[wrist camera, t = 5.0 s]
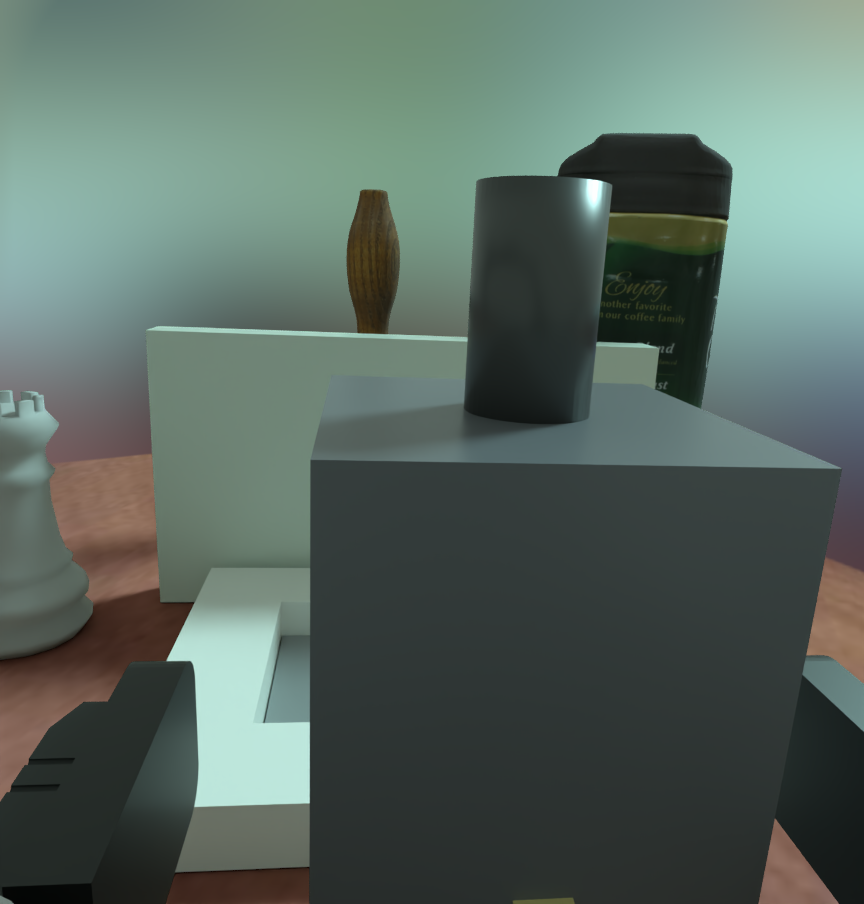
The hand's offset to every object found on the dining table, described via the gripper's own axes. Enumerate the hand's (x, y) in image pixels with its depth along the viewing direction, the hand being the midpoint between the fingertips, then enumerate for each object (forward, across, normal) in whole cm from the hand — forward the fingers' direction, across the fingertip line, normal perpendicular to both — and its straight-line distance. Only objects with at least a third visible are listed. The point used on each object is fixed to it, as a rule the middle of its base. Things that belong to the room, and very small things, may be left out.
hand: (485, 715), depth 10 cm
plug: (-1, 0, +6) cm, 7 cm away
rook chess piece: (+15, +13, +7) cm, 21 cm away
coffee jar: (+26, -11, +7) cm, 29 cm away
